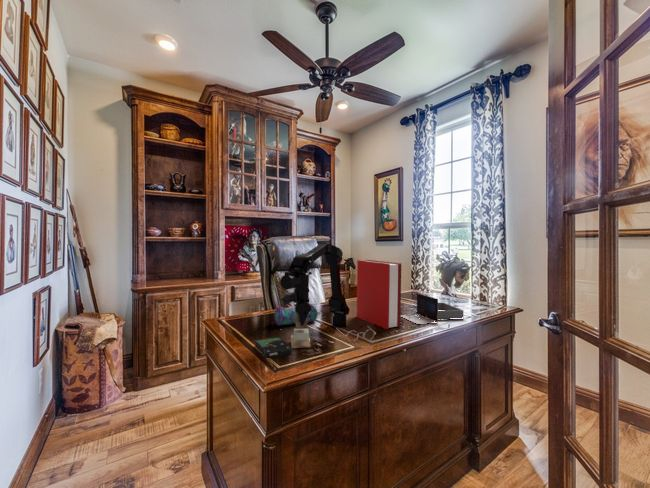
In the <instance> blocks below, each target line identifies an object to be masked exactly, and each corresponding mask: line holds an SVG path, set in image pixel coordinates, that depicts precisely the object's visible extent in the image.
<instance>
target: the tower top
mask: <svg viewBox="0 0 650 488" xmlns="http://www.w3.org/2000/svg"><path fill="white" fill-rule="evenodd" d="M293 335H294V341H303V340H309V338H310V331H309V328H293Z"/></svg>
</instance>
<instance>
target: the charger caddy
mask: <svg viewBox="0 0 650 488" xmlns="http://www.w3.org/2000/svg"><path fill="white" fill-rule="evenodd" d="M438 310H445V311H438V319H450V318H462V317H463V318H464V309H461V308H458V307H456V306H454V305H451V304H449V303H446V302H438Z"/></svg>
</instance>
